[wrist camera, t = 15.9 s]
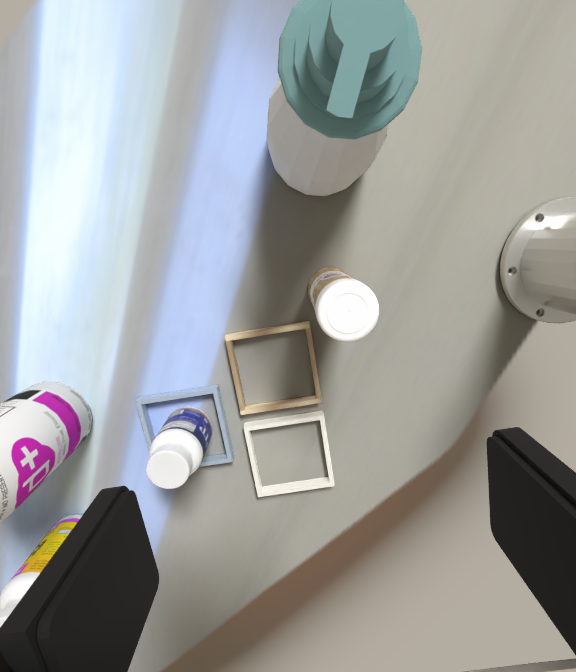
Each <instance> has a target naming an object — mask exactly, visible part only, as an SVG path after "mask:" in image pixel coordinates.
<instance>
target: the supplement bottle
mask: <svg viewBox="0 0 576 672" xmlns="http://www.w3.org/2000/svg"><path fill="white" fill-rule="evenodd" d="M81 517H82V515H80V514H74V515H69V516H66V517H64V518H62V519H60V520H59V521H58V522H57V523H56V524H55V525H54V526H53V528H52V529H51V530H50V531H49V532H48V534H47V535H46V536H45V537H44V539H43V540H42V541H41V542H40V544H39V545H38V546H37V548H36V549H35V550H34V551H33V552H32V554H31V555H30V556H29V557H28V559H27V560H26V561H25V563H24V564H23V565H22V566H21V568H20V569H19V570H18V571H17V573H16V574H15V575H14V576H13V578H12V579H11V580H10V581H9V583H8V584H7V585H6V586H5V588H4V590H3V591H2V594H1V597H0V627H1V626H2V625H3V623H4V622H5V620H6V619H7V618H8V616H9V615H10V614H11V612H12V611H13V610H14V608H15V607H16V605H17V604H18V603H19V601H20V600H21V599H22V597H23V596H24V595H25V593H26V592H27V590H28V589H29V588H30V586H31V585H32V584H33V582H34V581H35V580H36V578H37V577H38V575H39V574H40V573H41V571H42V570H43V569H44V567H45V566H46V565H47V563H48V562H49V560H50V559H51V558H52V556H53V555H54V554H55V552H56V551H57V550H58V548H59V547H60V545H61V544H62V543H63V541H64V540H65V539H66V537H67V536H68V535H69V533H70V532H71V530H72V529H73V528H74V526H75V525H76V524H77V522H78V521H79V520H80V518H81Z"/></svg>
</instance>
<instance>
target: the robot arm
mask: <svg viewBox="0 0 576 672" xmlns="http://www.w3.org/2000/svg"><path fill="white" fill-rule="evenodd" d="M535 217H536V220H535ZM509 269H510V271H509V272H508V270H509ZM500 277H501V282H502V287H503V289H504V292H505V294H506V296H507V298H508V299H509V301H510V302H511V304H512V305H513V306H514V307H515V308H516V309H518V310H519V311H520V312H521V313H523V314H525V315H526V316H528V317H530V318H533V319H536V320H539V321H543V322H548V323H565V322H571V321H575V320H576V197H565V198H560V199H555V200H552V201H549V202H547V203H544V204H542V205H540V206H539V207H537V208H535V209H534V210H532V211H531V212H530V213H528V214H527V215H526V216H525V217H524V218H522V220H521V221H520V222H519V223H518V224H517V225H516V227H515V228H514V229H513V231H512V232H511V234H510V236H509V237H508V239H507V241H506V244H505V246H504V249H503V252H502V257H501V262H500ZM536 311H537V312H536ZM487 459H488V480H489V501H490V502H489V503H490V524H491V530H492V533H493V536H494V538H495V540H496V541H497V543H498V544H499V546H500V547H501V549H502V550H503V552H504V553H505V554H506V556H507V557H508V559H509V560H510V562H511V563H512V564H513V566H514V567H515V569H516V570H517V572H518V573H519V574H520V576H521V577H522V579H523V580H524V582H525V583H526V585H527V586H528V587H529V589H530V590H531V592H532V593H533V594H534V596H535V597H536V599H537V600H538V602H539V603H540V605H541V606H542V607H543V608H544V610H545V611H546V613H547V614H548V616H549V617H550V619H551V620H552V622H553V623H554V625H555V626H556V628H557V629H558V630H559V632H560V633H561V635H562V636H563V637H564V639H565V640H566V642H567V643H568V645H569V646H570V647H571V649H572V650H573V652H574V653H575V655H576V473H575V472H574V471H573V470H572V469H570V468H569V467H568V466H567V465H565V464H564V463H563V462H562V461H561V460H559V459H558V458H557V457H556V456H554V455H553V454H552V453H551V452H549V451H548V450H547V449H546V448H544V447H543V446H542V445H541V444H539V443H538V442H537V441H535V440H534V439H533V438H532V437H531V436H529V435H528V434H527V433H526V432H525V431H523V430H522V429H521V428H519V427H515V428H508V429H501V430H495V431H494V432H493V436H492V437H489V438H488V439H487ZM158 584H159V573H158V569H157V566H156V562H155V559H154V555H153V552H152V549H151V545H150V542H149V538H148V535H147V531H146V528H145V525H144V521H143V518H142V514H141V511H140V508H139V504H138V501H137V497H136V494H135V492H134V491H132V490H131V491H129V489H128V488H127V487H126V486H120V487H113V488H106V489H102V490H101V491H100V492H99V494H98V495H97V496H96V498H95V499H94V500H93V502H92V503H91V505H90V506H89V507H88V509H87V510H86V511H85V513H84V514H83V515H82V517H81V518H80V520H79V521H78V522H77V524H76V525H75V526H74V528H73V529H72V530H71V532H70V533H69V535H68V536H67V537H66V539H65V540H64V541H63V543H62V544H61V545H60V547H59V548H58V550H57V551H56V552H55V554H54V555H53V556H52V558H51V559H50V560H49V562H48V563H47V565H46V566H45V567H44V569H43V570H42V571H41V573H40V574H39V575H38V577H37V578H36V580H35V581H34V582H33V584H32V585H31V586H30V588H29V589H28V590H27V592H26V593H25V595H24V596H23V597H22V599H21V600H20V601H19V603H18V604H17V605H16V607H15V608H14V610H13V611H12V612H11V614H10V615H9V616H8V618H7V619H6V620H5V622H4V623H3V625H2V626H1V627H0V672H127V671H128V669H129V666H130V663H131V660H132V658H133V655H134V652H135V649H136V647H137V644H138V641H139V638H140V636H141V633H142V630H143V627H144V625H145V622H146V619H147V616H148V614H149V611H150V608H151V605H152V603H153V600H154V597H155V595H156V592H157V589H158ZM465 672H576V659H568V660H559V661H548V662H539V663H530V664H522V665H515V666H506V667H498V668H490V669H481V670H473V671H465Z"/></svg>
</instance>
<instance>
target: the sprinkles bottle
mask: <svg viewBox="0 0 576 672" xmlns="http://www.w3.org/2000/svg"><path fill="white" fill-rule="evenodd" d="M308 295H309V298H310V300H311V302H312V304H313V306H314V309H315V314H316V318H317V321H318V323H319V325H320V327H321V328H322V330H323V331H324V332H325V333H326V334H327V335H328V336H330V337H331V338H333V339H335V340H338V341H342V342H352V341H356V340H359V339H361V338H363V337H365V336H366V335H367V334H369V333H370V332H371V330H372V329H373V328H374V326H375V324H376V322H377V320H378V316H379V304H378V301H377V298H376V296H375V294H374V293H373V292H372V290H371V289H370V288H369V287H367V286H366V285H365V284H363V283H362V282H360V281H357V280H354V279H352V278H351V277H349V276H348V275H346V274H344V273H343V272H342V271H341V270H339V269H336V268H324V269H321V270H319V271H318V272H316V273H315V274H314V275H313V276H312V278H311V279H310V282H309V284H308Z"/></svg>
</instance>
